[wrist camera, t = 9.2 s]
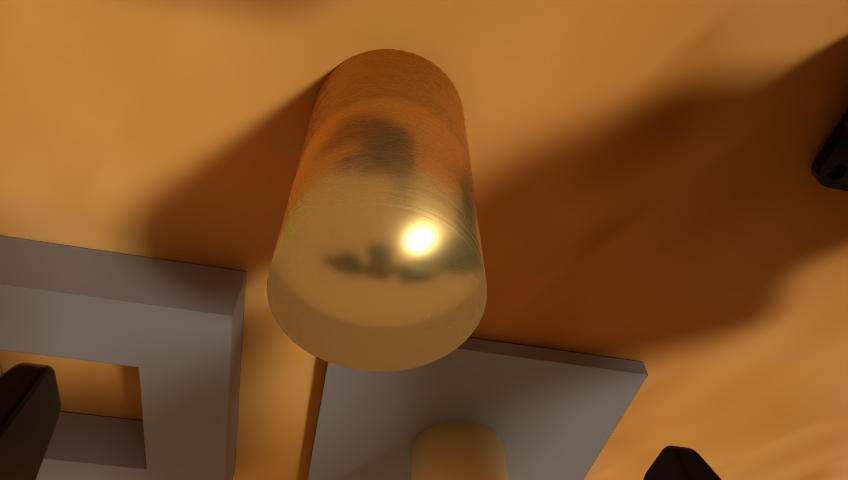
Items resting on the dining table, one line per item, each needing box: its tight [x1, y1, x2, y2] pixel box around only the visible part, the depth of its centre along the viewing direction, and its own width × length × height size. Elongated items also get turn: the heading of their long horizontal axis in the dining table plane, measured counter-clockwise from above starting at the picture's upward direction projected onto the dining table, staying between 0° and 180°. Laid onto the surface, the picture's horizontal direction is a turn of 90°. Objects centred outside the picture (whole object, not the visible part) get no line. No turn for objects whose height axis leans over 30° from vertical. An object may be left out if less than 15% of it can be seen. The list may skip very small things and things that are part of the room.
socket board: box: [0, 236, 246, 480], centre depth 22 cm, size 11×11×2 cm
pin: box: [267, 49, 487, 372], centre depth 15 cm, size 4×4×7 cm
